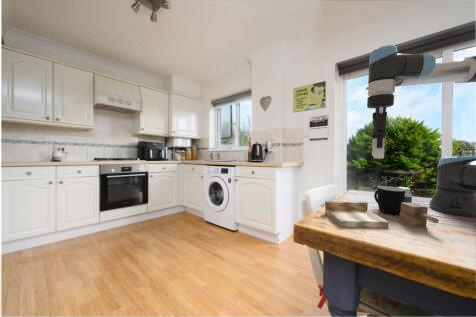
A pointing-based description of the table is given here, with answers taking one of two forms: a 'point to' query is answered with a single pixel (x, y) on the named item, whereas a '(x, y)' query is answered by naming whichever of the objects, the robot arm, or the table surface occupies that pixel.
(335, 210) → the board
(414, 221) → the block
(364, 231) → the table surface
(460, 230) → the table surface
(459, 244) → the table surface
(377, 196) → the mug
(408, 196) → the pill bottle
